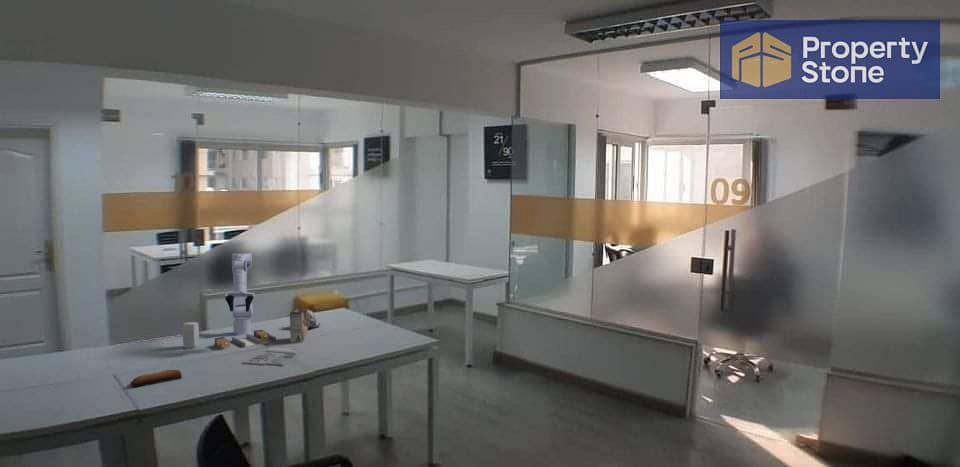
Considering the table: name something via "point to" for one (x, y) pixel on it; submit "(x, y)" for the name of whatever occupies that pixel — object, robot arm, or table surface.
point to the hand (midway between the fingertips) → (239, 311)
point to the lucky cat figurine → (312, 320)
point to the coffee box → (299, 325)
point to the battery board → (251, 340)
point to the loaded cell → (261, 335)
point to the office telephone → (273, 357)
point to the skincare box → (190, 335)
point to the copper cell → (222, 343)
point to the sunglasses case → (156, 377)
